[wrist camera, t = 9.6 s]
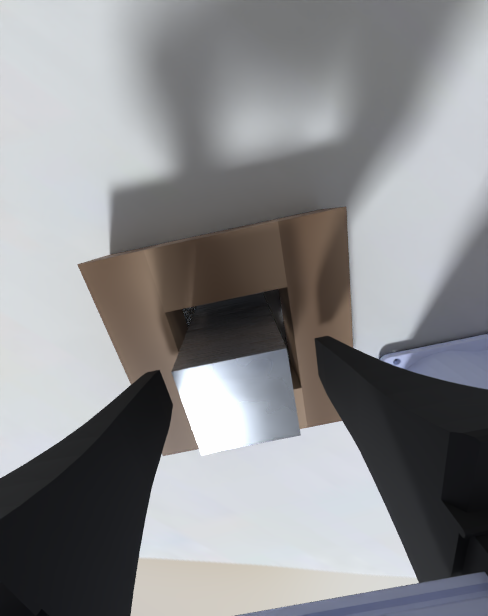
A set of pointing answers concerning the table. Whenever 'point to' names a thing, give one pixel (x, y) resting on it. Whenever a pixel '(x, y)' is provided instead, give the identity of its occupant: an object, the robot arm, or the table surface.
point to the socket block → (226, 285)
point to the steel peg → (236, 376)
